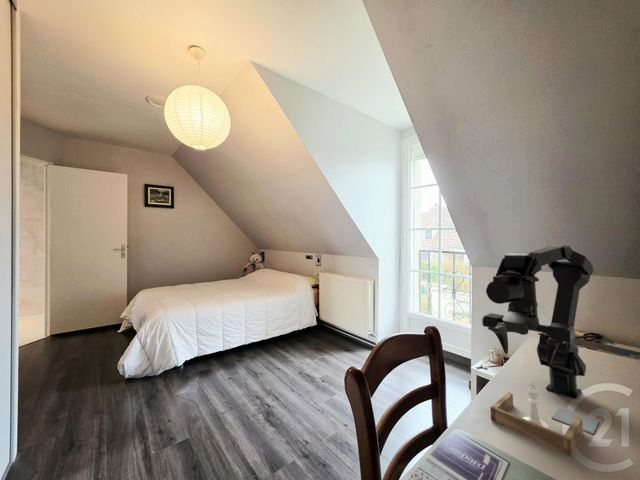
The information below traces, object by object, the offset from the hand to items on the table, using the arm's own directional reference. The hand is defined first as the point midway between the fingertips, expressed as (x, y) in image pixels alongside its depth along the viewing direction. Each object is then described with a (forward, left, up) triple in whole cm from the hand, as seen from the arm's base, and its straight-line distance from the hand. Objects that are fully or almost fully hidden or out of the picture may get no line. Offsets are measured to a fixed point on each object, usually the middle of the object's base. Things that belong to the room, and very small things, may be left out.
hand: (526, 358), depth 69 cm
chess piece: (+9, +4, -12) cm, 16 cm away
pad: (-1, +9, -12) cm, 15 cm away
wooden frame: (+9, +4, -12) cm, 16 cm away
